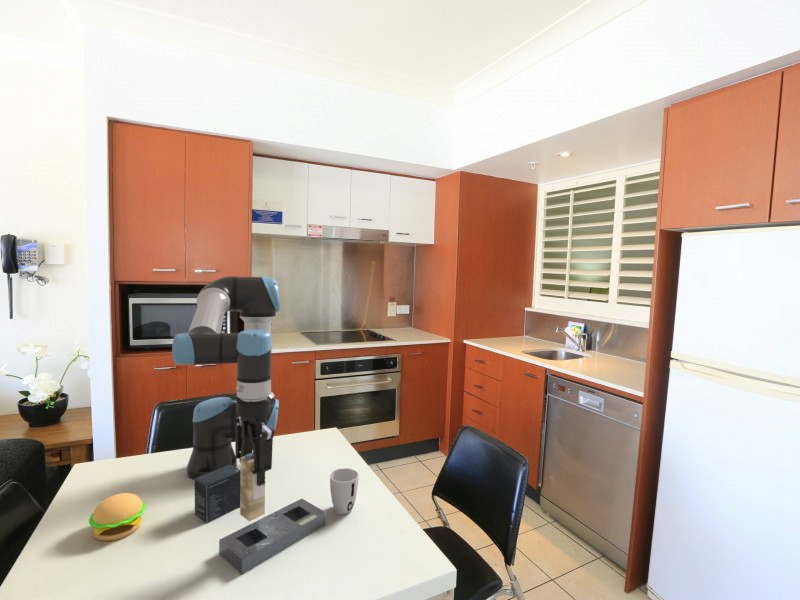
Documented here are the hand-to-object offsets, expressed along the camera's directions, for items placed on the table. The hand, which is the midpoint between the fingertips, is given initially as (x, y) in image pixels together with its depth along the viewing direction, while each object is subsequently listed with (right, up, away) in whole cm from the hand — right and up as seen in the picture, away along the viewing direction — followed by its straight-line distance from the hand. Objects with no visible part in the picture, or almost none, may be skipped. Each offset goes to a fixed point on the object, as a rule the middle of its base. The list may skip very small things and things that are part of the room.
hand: (252, 493), depth 97 cm
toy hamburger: (-37, -13, +7) cm, 40 cm away
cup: (+19, -14, +20) cm, 31 cm away
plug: (0, -5, 0) cm, 5 cm away
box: (-16, -13, +17) cm, 26 cm away
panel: (+4, -14, +6) cm, 16 cm away
